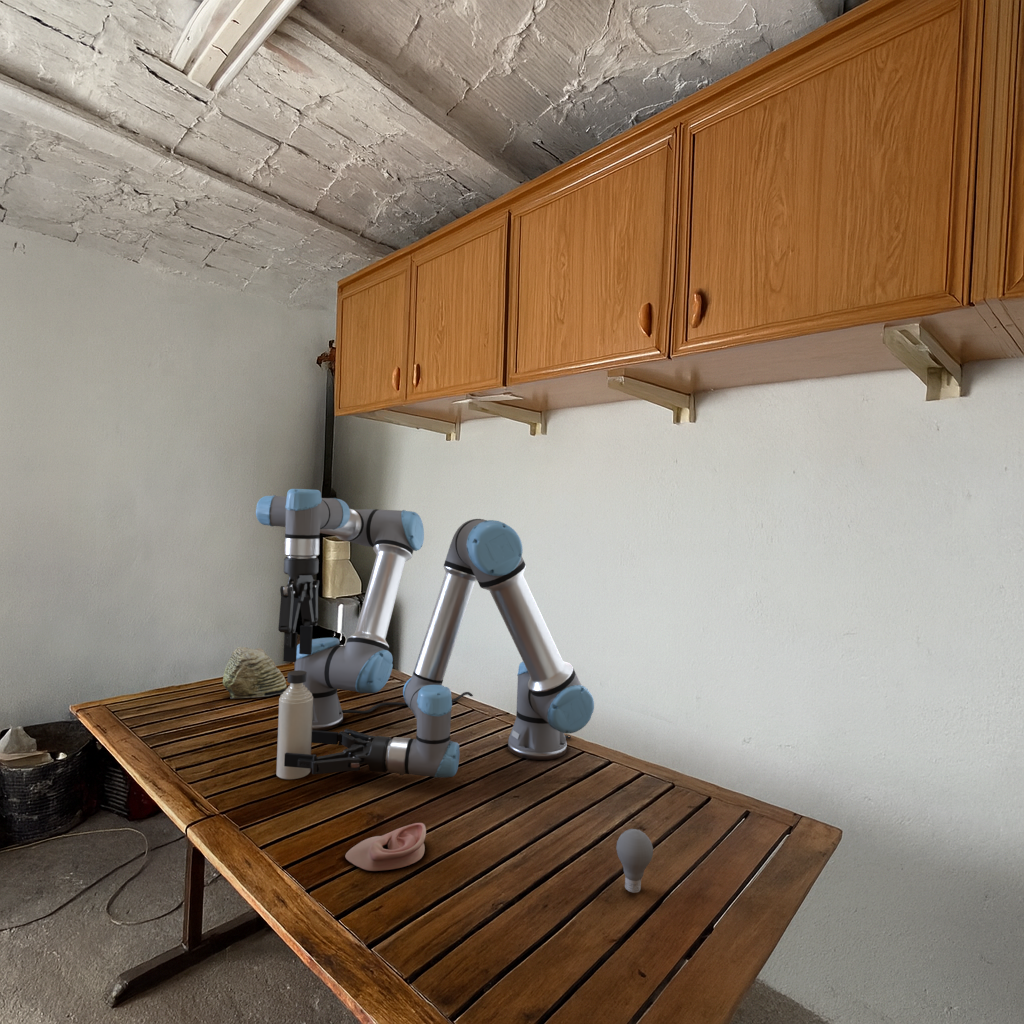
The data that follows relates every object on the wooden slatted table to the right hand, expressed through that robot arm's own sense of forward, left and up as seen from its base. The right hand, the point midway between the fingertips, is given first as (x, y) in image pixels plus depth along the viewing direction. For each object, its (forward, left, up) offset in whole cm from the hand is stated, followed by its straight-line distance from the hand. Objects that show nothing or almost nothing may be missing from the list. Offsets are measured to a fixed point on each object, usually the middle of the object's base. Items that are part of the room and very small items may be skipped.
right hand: (298, 747), depth 144 cm
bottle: (+1, -1, -6) cm, 6 cm away
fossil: (+12, -62, -6) cm, 63 cm away
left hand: (+1, -1, +20) cm, 20 cm away
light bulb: (-52, +59, -6) cm, 79 cm away
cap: (+1, -1, +16) cm, 16 cm away
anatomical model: (-15, +38, -6) cm, 41 cm away
